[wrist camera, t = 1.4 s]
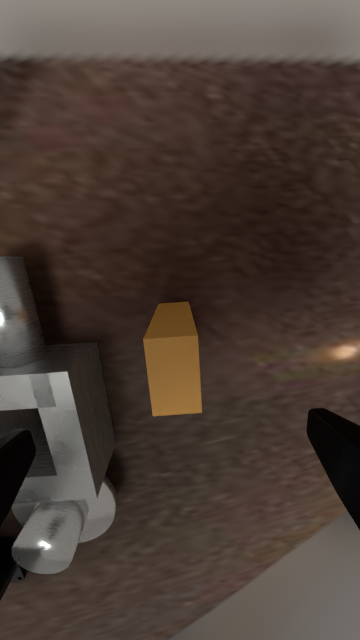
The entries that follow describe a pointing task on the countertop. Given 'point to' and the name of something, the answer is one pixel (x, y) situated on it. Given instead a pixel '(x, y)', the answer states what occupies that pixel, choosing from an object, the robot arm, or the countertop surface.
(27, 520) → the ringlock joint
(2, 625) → the countertop surface
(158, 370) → the wedge
